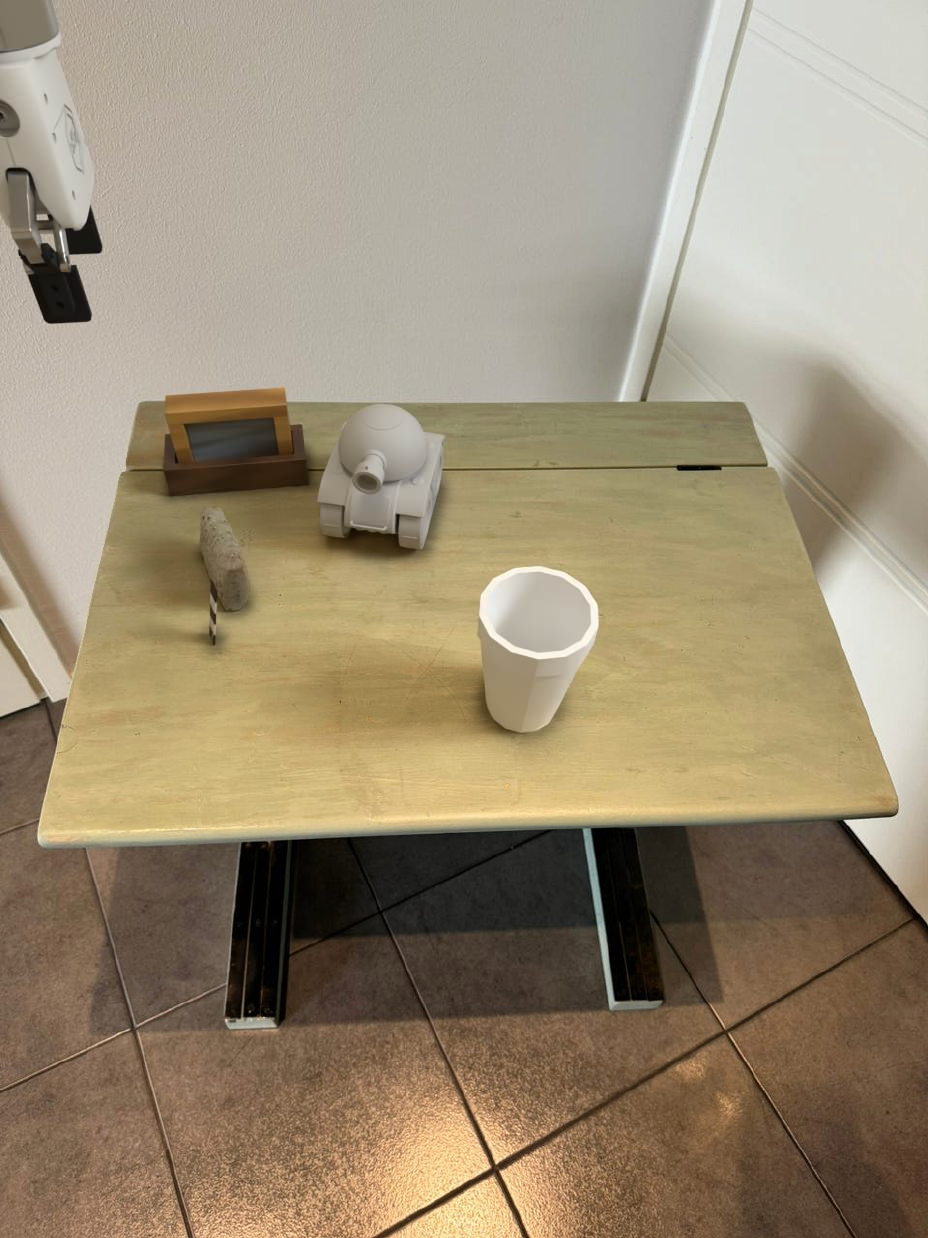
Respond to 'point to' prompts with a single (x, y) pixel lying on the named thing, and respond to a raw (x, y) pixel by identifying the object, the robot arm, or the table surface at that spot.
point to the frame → (229, 424)
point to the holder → (236, 470)
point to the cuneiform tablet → (222, 564)
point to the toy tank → (382, 476)
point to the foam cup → (533, 643)
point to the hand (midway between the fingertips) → (76, 284)
